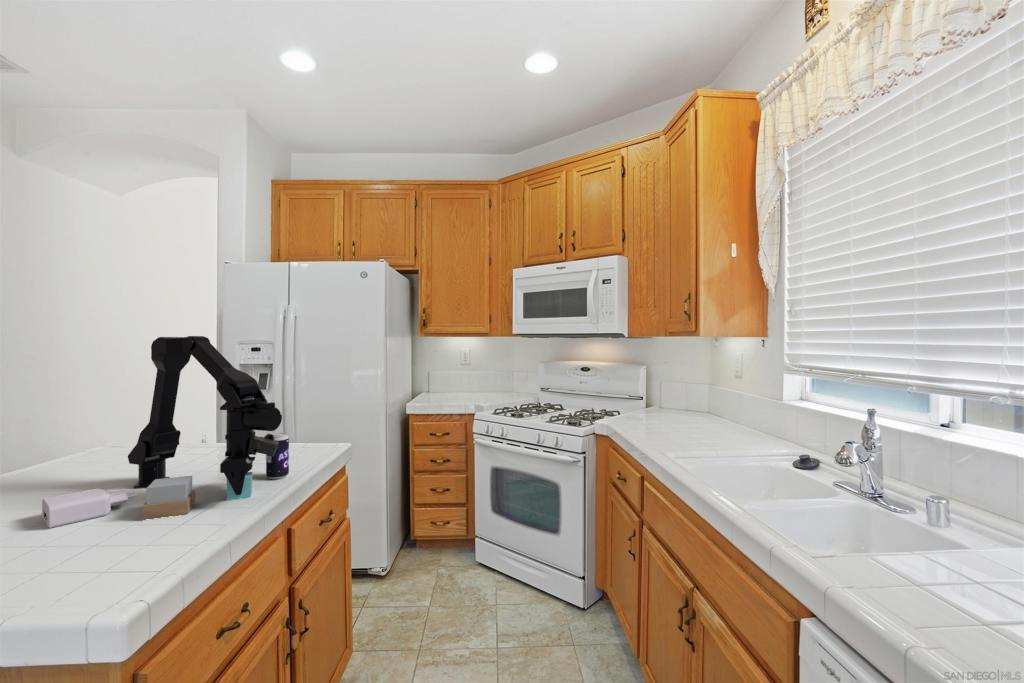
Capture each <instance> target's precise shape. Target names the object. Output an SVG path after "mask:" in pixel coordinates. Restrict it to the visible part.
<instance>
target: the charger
mask: <svg viewBox="0 0 1024 683" xmlns="http://www.w3.org/2000/svg"><path fill="white" fill-rule="evenodd" d="M136 496H138V494H137V493H136V492H130V493H126V492H125V491H124V490H122V491H117V492H112V493H108V492H107V491H106V490H104V489H102V488H92V489H88V490H82V491H77V492H71V493H67V494H61V495H55V496H51V497H45V498H42V500H41V506H42V507H41V508H42V509H41V512H42V513H41V515H42V516H41V517H42V520H43V522H44V521H45V522H44V524H45V525H46V524H47V525H46V526H47V528H48V527H49V528H48V529H52V527H54V528H58V527H62V526H67V525H71V524H74V522H75V523H79V521H80V522H84V521H87V520H92V518H93V519H97V518H100V517H104V516H107V515H108V514H109V513H111V509H112V508H111V507H113V506H118V505H122V504H126V503H128V501H129V500H128V499H129V498H132V497H136ZM45 517H46V518H45ZM83 520H84V521H83ZM70 523H71V524H70ZM66 524H67V525H66ZM61 525H62V526H61ZM57 526H58V527H57Z"/></svg>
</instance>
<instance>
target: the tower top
mask: <svg viewBox="0 0 1024 683" xmlns="http://www.w3.org/2000/svg"><path fill="white" fill-rule="evenodd" d="M145 488H146V492H145V493H146V496H145V497H146V498H145V500H146V501H145V503H146V505H147V504H155V503H164V502H172V501H180V500H186V499H187V497H188V496H189V494H190V493H191V491H192V490H193V475H186V476H177V477H176V476H175V477H174V476H173V477H170V478H164V479H155V480H154V481H153V482H152V483H151V484H150V485H149V486H148V487H145Z"/></svg>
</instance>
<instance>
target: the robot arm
mask: <svg viewBox="0 0 1024 683" xmlns="http://www.w3.org/2000/svg"><path fill="white" fill-rule="evenodd" d="M150 351H151V353H150V354H151V355H150V358H151V359H150V360H151V362H152V363H153V364H154V366H155V368H156V376H155V382H154V388H153V389H154V390H153V396H152V402H151V408H150V414H149V415H150V416H149V421H148V423H147V425H146V426H144V428H143V429H142V430H141V432H140V433H139V435H138V439H137V442H136V445H135V446H134V447H133V448H132V449H131V451H130V452H129V453H128V454H127V460H128V463H129V464H131V465H138V481H137V482H136V483H135V484H134V485H133V488H134V489H136V488H147V487H148V486H149V485H150V484H151V483H152V482H153V481H154V480H155V479H164V478H171V477H170V476H166V475H167V473H166V470H167V468H166V464H167V459H170V458H171V459H172V458H175V455H176V452H177V448H178V446H179V445H180V438H181V437H180V436H181V431H180V430H178V429H177V428H176V427H175V425H174V416H175V412H176V411H175V409H176V405H177V404H176V403H177V398H178V390H179V384H180V378H181V372H182V370H183V369H184V368H185V366H187V365H188V364H189V362H190V360H191V357H192V356H193V358H194V359H195V360H196V361H197V362H198V363H199V364H200V365H201V366H202V367H203V368H204V369H205V370H206V372H207V373H209V375H211V377H212V378H213V379H214V380H215V382H216V391H217V392H218V393H219V395H220V396H221V397H222V399H223V400H224V401H225V402H224V403H223V404H222V405H221V406H220V407H219V410H220V411H226V434H225V435H224V436H225V437H224V440H226V442H225V445H226V448H225V452H224V457H225V458H224V459H223V460H222V461H221V462H220V464H219V472H220V473H221V474H224V475H225V477H226V480H227V479H228V481H229V483H230V485H231V487H232V488H233V490H234V492H235V494H236V495H241V494H242V489H243V484H244V479H245V474H246V473H247V472H251V470H252V469H253V466H254V465H253V463H254V461H255V459H256V456H257V453H258V454H260V455H261V454H262V455H265V456H266V455H268V456H271V457H273V456H274V455H275V452H276V450H277V447H278V445H279V442H278V441H277V440H274V435H273V434H274V433H266V434H265V436H256V431H265V432H274V431H276V430H277V429H279V427H280V426H281V424H282V421H283V420H282V419H283V415H282V414H281V411H280V410H279V408H277V407H276V403H275V402H273V401H271V402H268V400H267V398H266V396H265V394H264V393H263V392H262V389H261V388H260V386H259V383H258V381H257V379H255V378H254V377H252V375H250V374H248V373H247V372H245V371H242V370H239V369H237V368H235V367H234V366H233V364H231V362H229V361H228V360H227V359H226V358H225V357H224V356H223V355H222V354H221V352H220V351H219V350H218V349H217V348H216V347H215V346H214V345H213V344H212V343H211V340H210V339H209V338H208V337H206V336H203V335H188V336H184V337H183V336H159V337H157V338H156V339H153V341H152V343H151V346H150Z"/></svg>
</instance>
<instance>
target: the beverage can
mask: <svg viewBox="0 0 1024 683" xmlns="http://www.w3.org/2000/svg"><path fill="white" fill-rule="evenodd" d="M272 434H273V435H274V440H277V441H278V442H279V445H278V447H277V450H276V452H275V455H274V456H273V457H271V456H268V455H266V454H265V477H267V478H268V479H269V480H271V479H277V480H281V478H282V479H285V478H286V477H287V476H288V475H289V472H290V447H289V446H290V437H289V436H288V433H285V432H277V433H272ZM284 477H285V478H284Z"/></svg>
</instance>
